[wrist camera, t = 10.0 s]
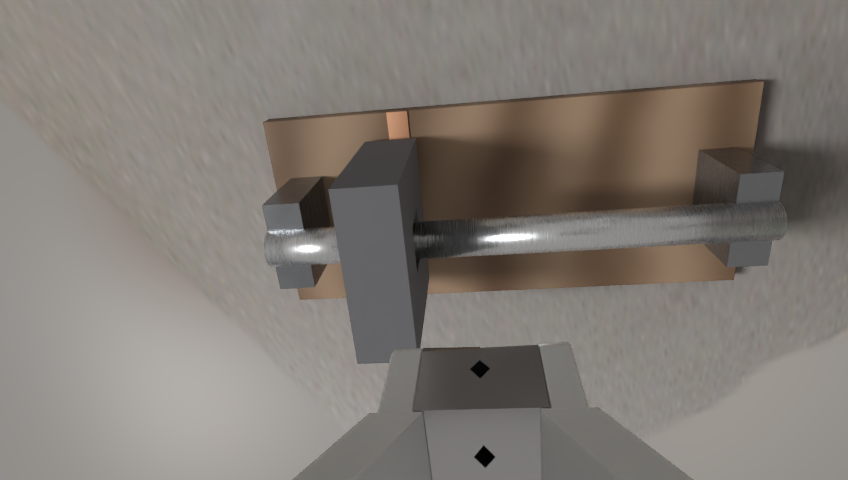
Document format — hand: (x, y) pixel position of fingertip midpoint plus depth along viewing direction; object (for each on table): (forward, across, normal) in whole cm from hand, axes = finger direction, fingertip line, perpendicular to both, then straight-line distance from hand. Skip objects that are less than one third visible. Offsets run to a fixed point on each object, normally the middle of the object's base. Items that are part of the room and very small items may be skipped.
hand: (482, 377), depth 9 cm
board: (+24, -2, +6) cm, 25 cm away
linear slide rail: (+23, -2, +5) cm, 24 cm away
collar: (+22, +5, +5) cm, 24 cm away
